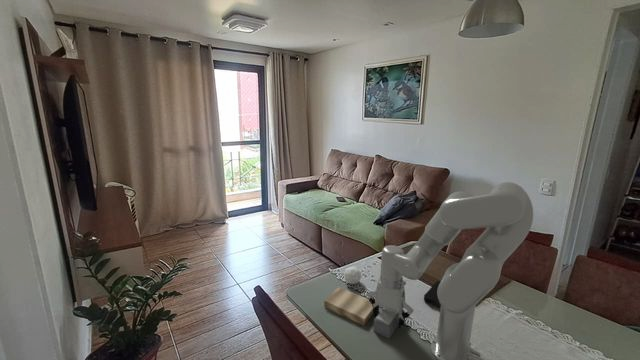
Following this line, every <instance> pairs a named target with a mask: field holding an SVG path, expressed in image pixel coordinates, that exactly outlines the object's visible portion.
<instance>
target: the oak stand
mask: <svg viewBox="0 0 640 360" xmlns="http://www.w3.org/2000/svg"><path fill="white" fill-rule="evenodd" d="M323 304H324V305H323V306H324V308H326V309H327V310H330V311H332V312H335V314H338V315H340V316H342V317H344V318H347V319H349V320H351V321H353V322H355V323H358V324H360V325H362V326H365V325H366V324H367V323H368V322H369V321H370V319H371V317H373V316H374V313H373V307H372V304H371V302H370V301H369V298H366V297H363V296H361V295H359V294H357V293H354V292H351V291H349V290H347V289H344V288H342V287H337V288H336V289H335V290H334V291H333V292H332V293H331V294H330V295H329V296H328V297H327V298H325V300H324V301H323Z"/></svg>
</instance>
